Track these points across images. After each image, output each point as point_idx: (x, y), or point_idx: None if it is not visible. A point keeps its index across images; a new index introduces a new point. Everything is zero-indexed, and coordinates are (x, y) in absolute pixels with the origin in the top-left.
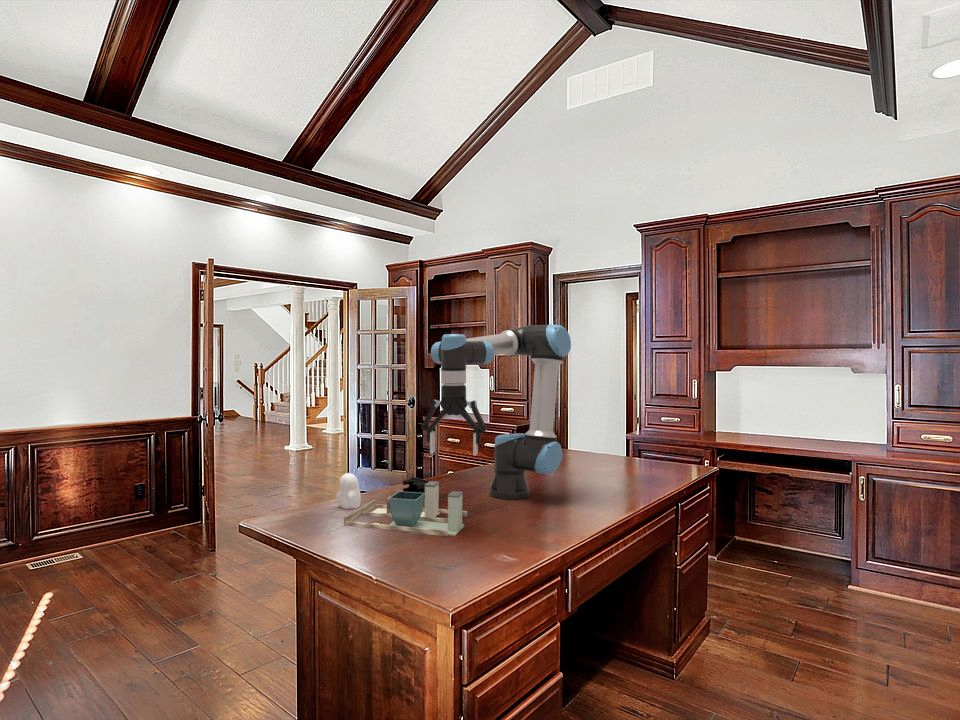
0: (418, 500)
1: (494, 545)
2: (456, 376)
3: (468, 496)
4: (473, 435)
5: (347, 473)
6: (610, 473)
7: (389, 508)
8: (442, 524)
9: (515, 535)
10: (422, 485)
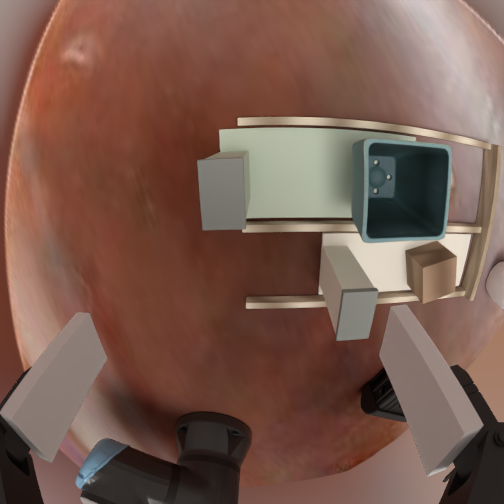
0: (362, 162)
1: (111, 103)
2: None
3: (287, 415)
4: (16, 408)
5: None
6: None
7: (439, 248)
8: (282, 201)
9: (91, 190)
10: (386, 396)
